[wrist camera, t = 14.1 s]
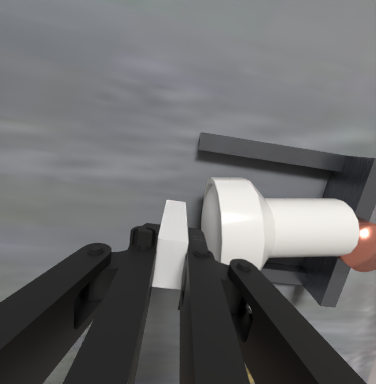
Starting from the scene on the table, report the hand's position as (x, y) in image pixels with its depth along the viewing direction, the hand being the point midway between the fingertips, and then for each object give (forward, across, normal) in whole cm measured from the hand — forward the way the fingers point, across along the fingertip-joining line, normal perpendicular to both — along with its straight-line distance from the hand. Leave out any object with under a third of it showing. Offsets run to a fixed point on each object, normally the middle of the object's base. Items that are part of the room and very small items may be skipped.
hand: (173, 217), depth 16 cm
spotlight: (+4, +8, 0) cm, 9 cm away
